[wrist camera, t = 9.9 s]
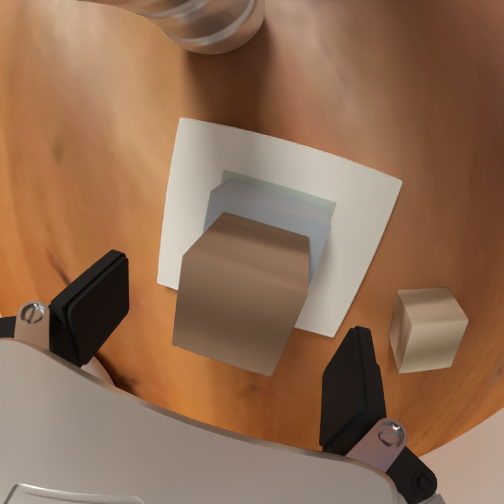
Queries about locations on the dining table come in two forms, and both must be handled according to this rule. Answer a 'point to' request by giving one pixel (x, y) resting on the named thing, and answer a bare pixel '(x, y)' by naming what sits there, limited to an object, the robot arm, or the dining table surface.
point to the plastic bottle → (200, 21)
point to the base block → (272, 213)
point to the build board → (287, 182)
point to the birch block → (426, 329)
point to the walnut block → (241, 292)
